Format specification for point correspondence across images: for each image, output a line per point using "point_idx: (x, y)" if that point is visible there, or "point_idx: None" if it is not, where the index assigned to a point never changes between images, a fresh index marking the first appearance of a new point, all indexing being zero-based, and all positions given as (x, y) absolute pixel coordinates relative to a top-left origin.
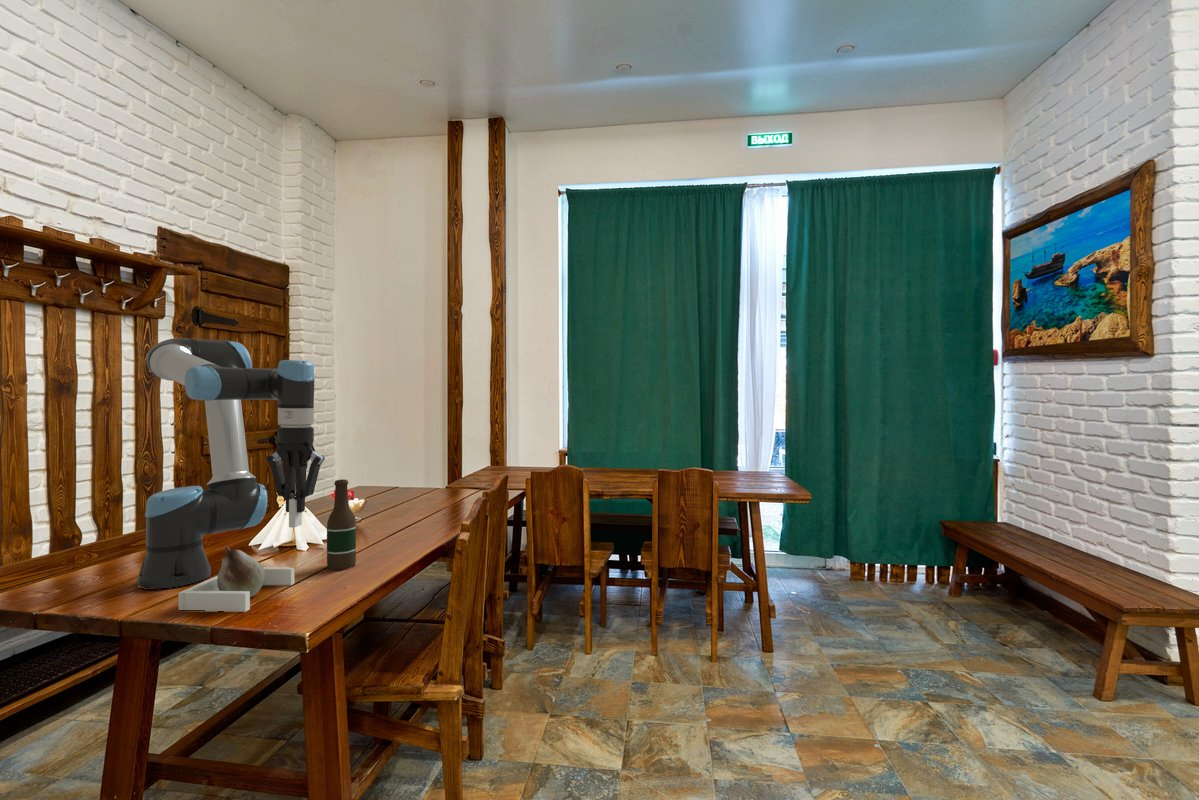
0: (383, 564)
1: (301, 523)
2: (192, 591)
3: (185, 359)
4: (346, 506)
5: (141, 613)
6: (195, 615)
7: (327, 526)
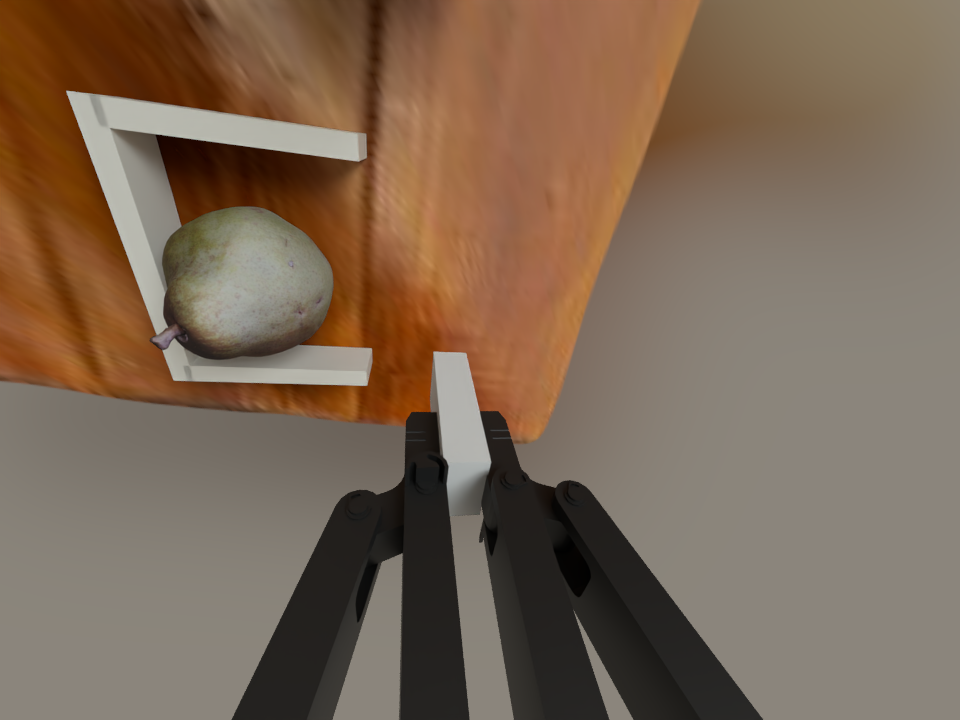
0: None
1: (466, 356)
2: (203, 370)
3: None
4: None
5: (113, 365)
6: None
7: None
